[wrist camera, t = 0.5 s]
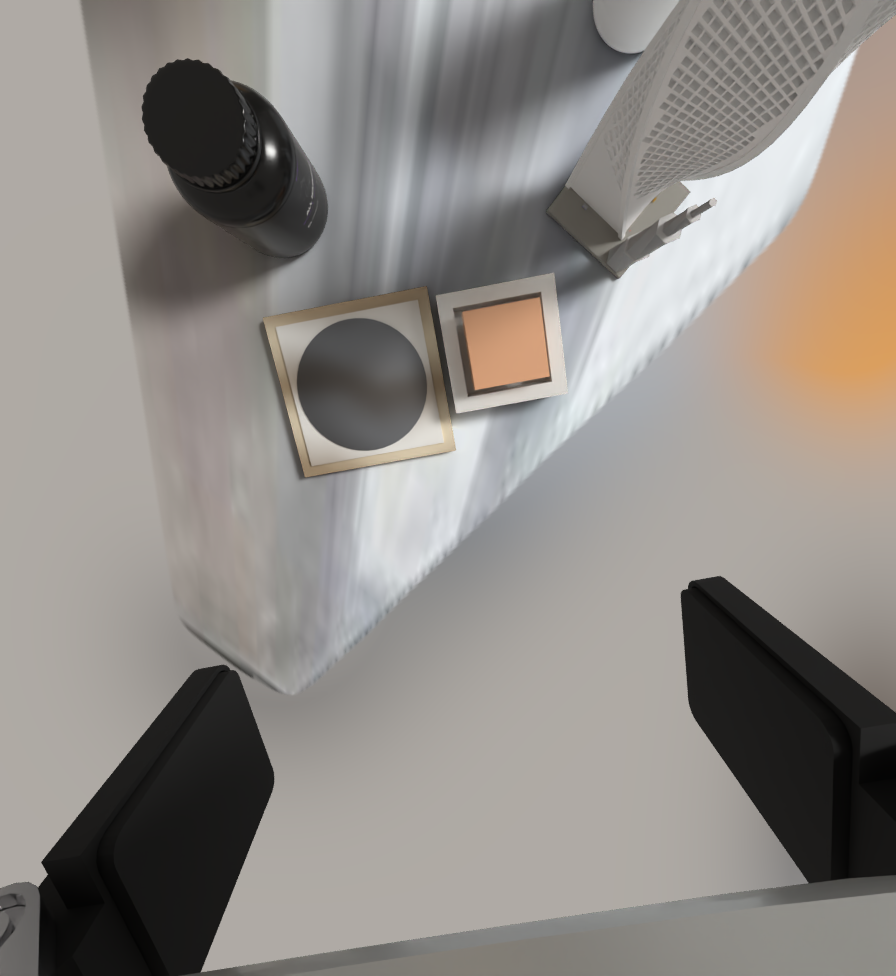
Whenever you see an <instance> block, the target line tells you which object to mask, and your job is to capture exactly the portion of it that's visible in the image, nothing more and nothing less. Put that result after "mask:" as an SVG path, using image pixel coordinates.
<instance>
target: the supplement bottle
mask: <svg viewBox="0 0 896 976" xmlns="http://www.w3.org/2000/svg"><path fill="white" fill-rule="evenodd" d="M143 100H144V102H143V105H142V111H143V116H142V120H143V123H144V131H145V133H146V134H147V136H148V141H149V143H150V144H151V145H152V146H153V148H154V151H155V153H156V154H157V155H158V156H159V157H160V158H161V160H162V161H163V163H164V164H166V165H167V168H168V171H169V174H170V176H171V178H172V181H173V183H174V184H175V186H176V188H177V190H178V191H179V193H180V194H181V195H182V197H183V198H184V199H185V200H186V202H187V203H188V204H189V205H190V206H191V207H193V208H194V209H195V210H196V211H197V212H198V213H200V214H201V215H202V216H204V217H205V218H207V219H208V220H210V221H211V222H213V223H214V224H216V225H218V226H219V227H221V228H222V229H224V230H225V231H227V232H228V233H230V234H232V235H233V236H235V237H236V238H238V239H239V240H241V241H242V242H244V243H246V244H247V245H249V246H250V247H252V248H254V249H255V250H257V251H259V252H261V253H263V254H265V255H268V256H271V257H276V258H289V257H294V256H297V255H300V254H302V253H304V252H306V251H307V250H309V249H310V248H311V247H312V246H313V245H314V244H315V243H316V242H317V241H318V239H319V238H320V236H321V234H322V232H323V230H324V228H325V224H326V220H327V214H328V203H327V196H326V192H325V189H324V186H323V183H322V181H321V179H320V177H319V175H318V174H317V172H316V170H315V168H314V167H313V165H312V164H311V162H310V161H309V159H308V157H307V156H306V154H305V153H304V151H303V150H302V148H301V146H300V145H299V143H298V142H297V140H296V139H295V137H294V136H293V134H292V132H291V131H290V129H289V128H288V126H287V125H286V123H285V121H284V120H283V118H282V117H281V116H280V114H279V113H278V112H277V110H276V109H275V108H274V107H273V105H272V104H271V103H270V102H269V101H268V100H267V99H266V98H265V97H263V96H262V95H261V94H260V93H258V92H257V91H255V90H254V89H252V88H250V87H248V86H246V85H244V84H242V83H239V82H235V81H231V80H230V79H229V78H227V77H226V76H224V75H223V74H222V72H221V71H220V70H218V69H216V68H213V67H212V66H211V65H210V64H209V63H202V62H201V61H200V60H191V59H188V58H187V59H185V60H178V59H177V60H176V61H175V62H173V63H167V64H166V66H165V67H162V68H159V70H158V72H157V74H155V75H153V76H152V78H151V82H150V83H149V84H148V85H147V87H146V92H145V94H144V95H143Z"/></svg>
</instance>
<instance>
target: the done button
mask: <svg viewBox="0 0 896 976" xmlns="http://www.w3.org/2000/svg"><path fill="white" fill-rule="evenodd" d="M462 322H463V328H464V334H465V340H466V346H467V352H468V358H469V364H470V370H471V377H472V383H473V389H474V390H479V389H484V388H490V387H495V386H501V385H506V384H511V383H517V382H522V381H528V380H533V379H539V378H544V377H549V376H550V375H549V367H548V359H547V351H546V343H545V334H544V326H543V318H542V310H541V302H540V297H538V298H532V299H527V300H522V301H517V302H511V303H506V304H501V305H496V306H490V307H485V308H480V309H475V310H469V311H464V312H462Z"/></svg>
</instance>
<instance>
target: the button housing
mask: <svg viewBox="0 0 896 976" xmlns="http://www.w3.org/2000/svg"><path fill="white" fill-rule="evenodd" d="M538 297H540V302H541V310H542V318H543V326H544V334H545V343H546V351H547V359H548V367H549V375H550V376H549V377H544V378H539V379H533V380H528V381H522V382H517V383H511V384H506V385H501V386H495V387H490V388H484V389H479V390H474V389H473V383H472V377H471V370H470V364H469V358H468V352H467V346H466V340H465V334H464V328H463V322H462V312H464V311H469V310H475V309H480V308H485V307H490V306H496V305H501V304H506V303H511V302H517V301H522V300H527V299H532V298H538ZM436 302H437V308H438V313H439V319H440V325H441V330H442V336H443V342H444V348H445V353H446V359H447V365H448V370H449V376H450V382H451V388H452V393H453V399H454V405H455V410H456V414H457V413H463V412H468V411H474V410H479V409H485V408H490V407H496V406H501V405H507V404H512V403H518V402H523V401H529V400H534V399H540V398H545V397H551V396H556V395H562V394H567V393H568V390H567V381H566V372H565V363H564V355H563V346H562V337H561V328H560V319H559V311H558V302H557V293H556V284H555V276H554V273H549V274H544V275H539V276H534V277H529V278H523V279H518V280H513V281H508V282H503V283H498V284H492V285H487V286H482V287H477V288H472V289H466V290H461V291H456V292H451V293H446V294H440V295H436Z"/></svg>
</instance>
